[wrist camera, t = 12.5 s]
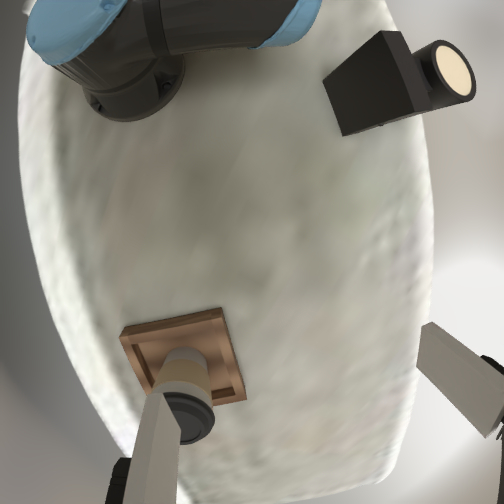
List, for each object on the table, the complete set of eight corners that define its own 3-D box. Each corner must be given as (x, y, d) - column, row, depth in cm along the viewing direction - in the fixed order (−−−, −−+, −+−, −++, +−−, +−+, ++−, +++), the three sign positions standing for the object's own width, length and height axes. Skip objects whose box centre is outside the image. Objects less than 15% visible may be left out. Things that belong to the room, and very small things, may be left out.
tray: (124, 327, 41) (118, 337, 38) (221, 307, 42) (221, 317, 39) (159, 401, 45) (156, 413, 42) (244, 386, 46) (246, 399, 43)
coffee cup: (224, 356, 43) (229, 423, 29) (198, 392, 44) (195, 459, 30) (172, 330, 41) (155, 394, 27) (150, 370, 42) (131, 435, 28)
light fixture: (409, 124, 40) (486, 107, 22) (343, 138, 39) (416, 114, 22) (390, 71, 37) (458, 36, 20) (321, 79, 37) (379, 28, 19)
